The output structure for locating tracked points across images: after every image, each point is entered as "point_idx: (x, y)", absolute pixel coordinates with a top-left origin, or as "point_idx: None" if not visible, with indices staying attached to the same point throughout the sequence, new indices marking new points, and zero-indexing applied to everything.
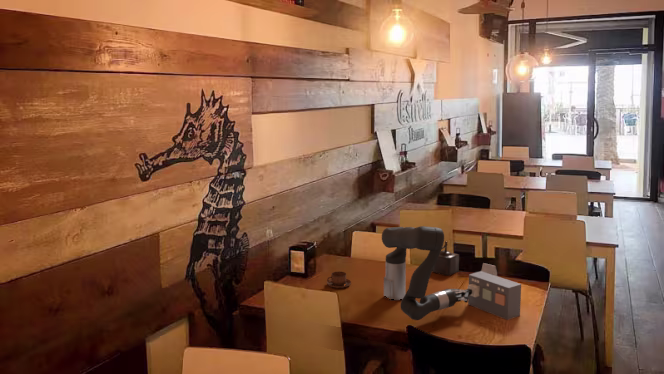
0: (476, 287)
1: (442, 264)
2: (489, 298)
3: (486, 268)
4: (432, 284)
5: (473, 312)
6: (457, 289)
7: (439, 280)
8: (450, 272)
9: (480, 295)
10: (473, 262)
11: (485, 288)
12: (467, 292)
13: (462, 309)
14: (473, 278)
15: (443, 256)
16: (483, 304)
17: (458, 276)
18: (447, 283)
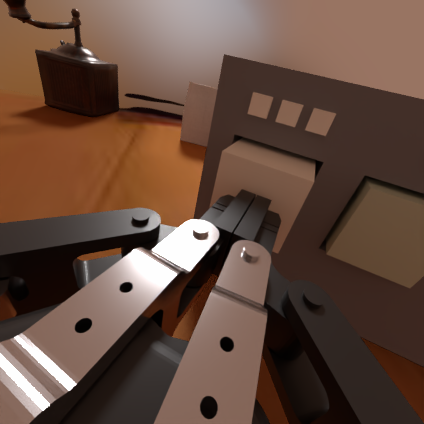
0: (313, 178)
1: (70, 82)
2: (411, 271)
3: (200, 97)
4: (23, 139)
5: (262, 363)
6: (129, 223)
7: (59, 127)
8: (97, 108)
9: (299, 228)
10: (146, 100)
11: (382, 186)
12: (316, 294)
13: (173, 337)
14: (269, 92)
15: (70, 56)
16: (305, 279)
17: (119, 120)
18: (85, 137)
